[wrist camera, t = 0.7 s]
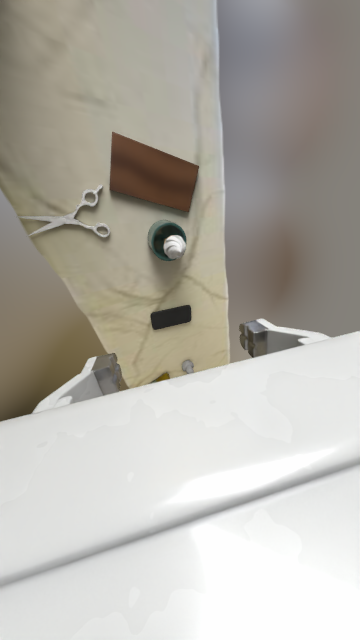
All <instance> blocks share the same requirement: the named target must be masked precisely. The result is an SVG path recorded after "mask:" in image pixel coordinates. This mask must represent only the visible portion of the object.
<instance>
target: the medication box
mask: <svg viewBox="0 0 360 640" xmlns="http://www.w3.org/2000/svg"><path fill="white" fill-rule="evenodd" d="M168 379H170V377H169V374H167V373H165V374H163V375H162V376H161V377H159V378H158V379H156V380H155V381H153V382H152V383H156V382H160V381H164V380H168ZM152 383H150V384H152Z"/></svg>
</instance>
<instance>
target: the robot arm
mask: <svg viewBox="0 0 360 640" xmlns="http://www.w3.org/2000/svg"><path fill="white" fill-rule="evenodd" d="M239 329H240V331H241V335H240V343H241V345H242V347H243V348H244V349H245V350H248V353H249V354H250V355H251V356H252V357H253V358H251V359H247V360H243V361H239V362H236V363H232V364H227V365H223V366H219V367H215V368H211V369H207V370H203V371H199V372H195V373H191V374H187V375H183V376H180V377H176V378H172V379H168V380H164V381H160V382H156V383H152V384H148V385H144V386H140V387H136V388H132V389H128V390H124V391H120V392H119V390H120V381H121V379H122V372H121V368H120V365H119V364H117V356H116V354H115V353H112V354H107V355H102V356H97V357H93V358H89V359H88V361H87V362H86V364H85V367H84V368H83V370H82V372H81V374H78V375H77V376H75V377H74V378H72V379H71V380H70V381H68V382H67V383H66V384H64V385H63V386H62V387H60V388H59V389H57V390H56V391H55V392H53V393H52V394H51V395H49V396H48V397H46V398H45V399H44V400H42V401H41V402H40V403H39V404H38V405H37V407H36V408H35V410H34V411H33V413H32V414H30V415H25V416H21V417H17V418H13V419H9V420H6V421H2V422H0V640H360V331H358V332H354V333H350V334H346V335H342V336H338V337H334V338H330V337H328V336H326V335H324V334H322V333H317V332H311V331H304V330H297V329H291V328H285V327H276V326H274V325H273V324H271V323H269V322H268V321H266V320H264V319H258V320H254V321H250V322H246V323H242V324H240V326H239Z"/></svg>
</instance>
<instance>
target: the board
mask: <svg viewBox="0 0 360 640" xmlns="http://www.w3.org/2000/svg"><path fill="white" fill-rule="evenodd" d="M198 169H199V166H197V165H195V164H192V163H190V162H187V161H185V160H182V159H180V158H177V157H175V156H172V155H170V154H167V153H165V152H162V151H160V150H157V149H155V148H152V147H150V146H147V145H145V144H142V143H140V142H137V141H135V140H132V139H130V138H127V137H125V136H122V135H120V134H117V133H115V132H112V146H111V171H110V190H112V191H116V192H119V193H123V194H126V195H130V196H133V197H137V198H140V199H144V200H147V201H151V202H154V203H158V204H162V205H165V206H169V207H172V208H176V209H179V210H183V211H186V212H189V208H190V204H191V199H192V195H193V190H194V186H195V182H196V177H197V173H198Z"/></svg>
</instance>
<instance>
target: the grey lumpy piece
mask: <svg viewBox="0 0 360 640" xmlns="http://www.w3.org/2000/svg"><path fill="white" fill-rule="evenodd" d="M193 367H194V365H193V363H192V362H191V361H189V360H187V361H184V362H183V364H182V370H183V371H186V372H187V374H191V373H193V372H194V371H193Z"/></svg>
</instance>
